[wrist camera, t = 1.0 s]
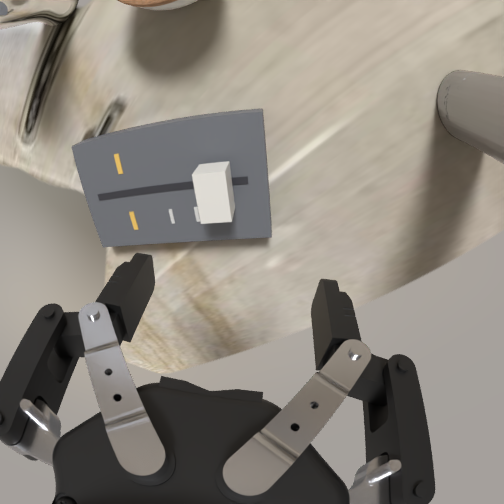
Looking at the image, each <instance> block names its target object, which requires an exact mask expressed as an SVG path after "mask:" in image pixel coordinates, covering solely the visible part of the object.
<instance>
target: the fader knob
mask: <svg viewBox="0 0 504 504" xmlns="http://www.w3.org/2000/svg"><path fill="white" fill-rule="evenodd" d="M192 179H193V184H194V190H195V195H196V201H197V206H198V211H199V217H200V222H201V224H207V223H222V222H232V219H233V215H234V210H235V202H234V194H233V186H232V178H231V170H230V162H229V161H226V162H216V163H206V164H199V165H198V167H197V168H196V170H195V171H194V172H193V174H192Z"/></svg>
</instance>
